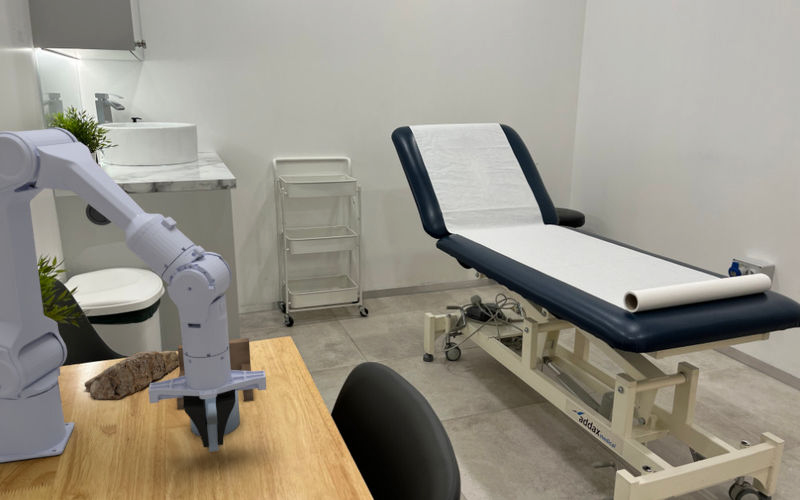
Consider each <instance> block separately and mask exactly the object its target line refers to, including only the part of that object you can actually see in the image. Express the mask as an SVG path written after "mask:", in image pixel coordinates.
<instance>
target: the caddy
mask: <svg viewBox="0 0 800 500" xmlns="http://www.w3.org/2000/svg"><path fill="white" fill-rule="evenodd" d="M229 353H230V367H231V370H237V371H252V365H251V349H250V338H248V337H247V338H246V337H245V338H238V339H237V338H235V339H229ZM177 354H178V357H179V365H178V366H179V373H178V377H181V376H185V370H184V359H183V347H182V344H178V345H177ZM242 392H243V393H242V394H243V396H242V397H243V402H248V401H254V389H248V390H242ZM183 401H184V400H183V397H180V398H176V403H177V404H176V405H177V410H184V408H183V404H184V402H183Z"/></svg>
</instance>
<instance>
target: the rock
mask: <svg viewBox="0 0 800 500" xmlns="http://www.w3.org/2000/svg"><path fill="white" fill-rule="evenodd" d="M177 366H179V357H178V352H177V351H175V350H165V351H157V350H150V351H149V350H148V351H140V352H137V353H134V354H132V355H129V356H127V357H126V358H125V359H122V360H120V361H118V362H117V363H114V364H113V365H111V366H109V367H107V368H106V369H103V371H102V372H100V373H99V374H97V375H96V376H93V377H91V378H90V379H89V380H87V381H85V382H84V387H85V388H86V389H87V390H88V391H89V395H90V396H91V397H92V398H93V399H96V400H112V399H113V400H120V399H122V398H123V397H124V396H130V395H132V394H133V393H136V392H139V391H141V390H142V389H144V388H145V387H147V386H150V383H153V381H155V380H158V379H161V378H162V377H163V376H164V375H165V374H170V373H172V371H173V369H175V368H176V367H177Z"/></svg>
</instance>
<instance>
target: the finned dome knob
mask: <svg viewBox="0 0 800 500" xmlns="http://www.w3.org/2000/svg"><path fill="white" fill-rule="evenodd" d="M235 398H236V401H235V404H234V407H233V409H232V411H231V413H230V416H229V418H228V421H227V424H226V428H225V432H224V436H225V435H228V434H230V433H232V432H234V431H235V430H236V429H237V428H239V425H240V423H241V418H240V417H241V416H240V402H239V391H235ZM205 405H206V417H207V429H208V439H209V447H208V451H209V452H210V453H211V452H218V451H219V449H220V447H219V446H220V445H218V441H217V437H218V422H217V412H216V397H215V398H209V399H205ZM189 421H190V431H191V432H192V434H194V435H195V436H198V437H200V434H199V432H198V430H197V428H196V426H195V424H194V423H193V421H192V420H191V419H190V418H189Z"/></svg>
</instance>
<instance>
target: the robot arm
mask: <svg viewBox="0 0 800 500" xmlns="http://www.w3.org/2000/svg"><path fill="white" fill-rule="evenodd" d="M44 189H50V190H60V191H69V192H70V191H71V192H73V193H74V194H75V195H77V196H78V197H79V198H80V199H82V200H83V201H84V202H86V203H87V204H88V205H89V206H90V207H92V208H93V209H94V210H95V211H97V212H98V213H100V214H101V215H102V216H104V217H105V218H106V219H107V220H108V221H110V222H111V223H112V224H113V225H115V226H116V227H117V228H119V229H120V230H121V231H123V232H124V235H125V246H126V248H127V249H128V250H129V251H131V253H133V254H134V255H135V256H136V257H137V258H139V259H140V260H141V261H142V262H143V263H144V264H145V265H146V266H148V267H149V269H151V270H152V271H153V272H154V273H155V274H156V275H158V277H160V278H161V279H162V280H163V281H165V283H166V284H168V286H166V290H167V294H168V296H169V298H170V300H171V301H172V303H174V304H175V306H176V307H177V310H178V318H179V322H180V323H179V324H180V336H181V342H182V344H181V345H182V347H183V359H184V370H185V376H181V377H179V376H177V377H173V378H171V379H166V380H162V381H155V382H150V384H149V385H148V399H149V404H157V403H160V401H162V400H163V401H164V400H171V399H177V398H180V397H183V400H184V401H183V402H184V404H183V408H184V409H183V410H184V412H185V414H186V415H187V416H188V417H189V420H190V419H191V420H192V421H193V423H194V424H195V426H196V428H197V430H198V432H199V434H200V436H199V437H200V439H201V442H202V446H203V448H209V439H208V429H207V417H206V405H205V399H209V398H215V397H216V412H217V422H218V437H217V441H218V445H219V446H223V445H224V438H225V435H224V432H225V428H226V424H227V421H228V418H229V416H230V413H231V411H232V409H233V407H234V404H235V401H236V398H235V391H238V392H239V391H243V390H248V389H253V390H256V389H257V391H265V390H267V377H266V371H265V370H251V371H237V370H231V367H230V353H229V340H230V339H229V324H228V322H229V321H228V311H227V298H226V296H227V295H226V294H225V292H226V291H227V290H228V288H229V287H230V285H231V283H232V278H233V277H232V270H231V268H230V266H229V264H228V263H227V261H226V260H225V259H224V258H223V256H222V255H221V254H219V253H216V252H213V251H206V250H205V249H204V248H203V247H202V246H201V245H196V244H195V243H194V242H193V241H192V240H191V239H189V237H188V236H186V235H185V234H184V233H183V232H182V231H181V230H179V229H178V227H176V226H177V224H178V223H177V221H175V220H174V219H173V218H172V217H171V216H167V217H165V216H164V215H163V214H161V213H148V212H145V210H143V208H142V207H140V206H139V204H138V203H137V202H136V201H135V200H134V199H133V198H132V197H131V196H130V195H129V194H127V192H126V191H125V190H124V189H123V188H122V187H121V186H120V185H119V184H118V183H117V182H116V181H115V180H114V179H113V178H112V177H111V176H110V175H109V174H108V173H107V172H106V171H105V170H104V169H103V168H102V167H101V165H100V164H98V163H97V162H96V161H95V160H94V158H93V156H92V153H91V151H90V149H89V147H88V146H87V145H85V144H84V143H82V142H81V141H79V140H78V139H77V137H76V136H75V135H74V134H72V132H70V131H69V130H67V129H65V128H61V127H55V126H54V127H48V128H44V129H32V130H21V131H20V130H19V131H13V130H12V131H11V130H3V131H0V463H7V462H12V461H21V460H22V461H23V460H28V459H29V460H30V459H36V458H43V457H51V456H57V455H61V454H62V453H63V452H64V450H65V448H66V445H67V443H68V441H69V439H70V437H71V435H72V432H73V430H74V428H75V422H73V421H72V422H71V421H70V422H65V417H64V410H63V404H62V398H61V397H62V396H61V390H60V384H59V383H60V382H59V376H61V369H60V368H61V367H62V366H63V365H64V363H65V362H66V359H67V357H68V349H67V346H66V343H65V342H64V340H63V338H62V336H61V335H60V331H59V327H58V326H59V325H58V322H57V321H55V319H52V318H50V317H48V316H46V315H45V314H44V313H45V312H44V306H43V298H42V291H41V289H42V288H41V284H40V283H41V282H40V275H39V274H40V273H39V267H38V266H39V265H38V259H37V251H36V250H37V249H36V242H35V235H34V228H33V219H32V210H31V201H32V200H33V199H34V198H36V197H37V196H38V195H39V194H40V193H41V192H42V191H43V190H44Z"/></svg>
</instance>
